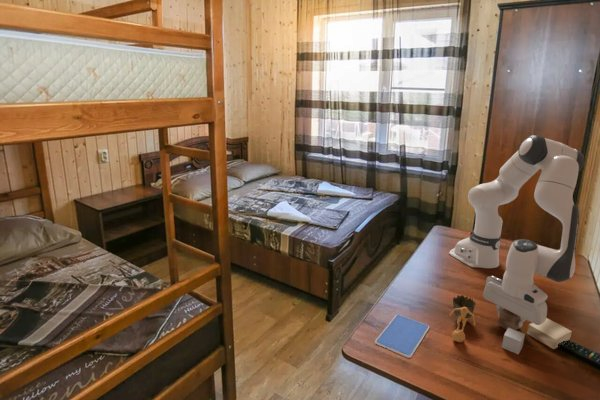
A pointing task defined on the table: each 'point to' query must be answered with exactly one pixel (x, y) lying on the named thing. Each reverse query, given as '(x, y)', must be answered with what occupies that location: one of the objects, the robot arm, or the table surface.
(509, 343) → the grey painted cube
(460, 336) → the figurine
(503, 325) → the walnut block
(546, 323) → the beech pedestal block
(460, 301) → the cup
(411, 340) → the tablet computer
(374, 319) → the table surface
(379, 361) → the table surface
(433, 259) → the table surface
